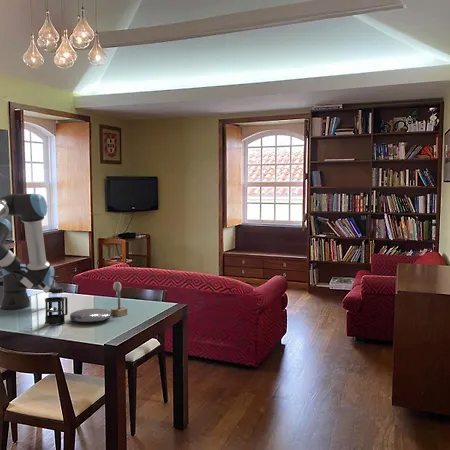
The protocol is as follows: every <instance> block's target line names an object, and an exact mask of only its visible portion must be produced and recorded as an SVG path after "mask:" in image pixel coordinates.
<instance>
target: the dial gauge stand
mask: <svg viewBox="0 0 450 450" xmlns="http://www.w3.org/2000/svg"><path fill="white" fill-rule="evenodd" d="M112 287H113V291H115V292H117V307H113V308H111V309H110V311H111V316H115V317H122V316H125V315H128V308H127V307H122V306H121V291H122V284H121V282H120V281H114V283H113V285H112Z"/></svg>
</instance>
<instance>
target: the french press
mask: <svg viewBox="0 0 450 450" xmlns="http://www.w3.org/2000/svg"><path fill="white" fill-rule="evenodd" d="M50 277H53V278H54V279H53V286H52V287H51V286H50V287H49V288H50V289H49V291H48V292H47V293H46V294H48V293H51V294H53V295H54V296H53V297H51V296H50V297H46V298H44V301H45V316H44V319H45V320H44V324H45V325H50V326H51V325H52V326H53V325H60V324H64V323H65V322H66V320H65V319H66V317H65V316H68V313H69V312H68V311H69V310H68V297H67V296H64V297H63V296H56V294H57V295H58V294H63V293H64V289H65V287H60V286H56V278H59V277H60V275H54V276H50ZM53 303H54V307H53ZM56 303H57V307H56ZM53 313H57V314H53Z"/></svg>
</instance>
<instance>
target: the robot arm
mask: <svg viewBox="0 0 450 450" xmlns="http://www.w3.org/2000/svg"><path fill="white" fill-rule="evenodd" d="M47 213H48V204H47V201H46V198H45V197H44V195H42V194H40V193H38V194H37V193H9V194H6V195H3V196H1V197H0V267H1V268H3V270H2V271H3V272H2V280H3V281H2V284H3V285H2V286H3V288H2V289H3V295H2V298H1V301H0V309H1V310H6V311H7V310H9V311H11V310H21V309H26V308H28V307H30V306H31V300H30V298H29V295H28V292H27V289H29V290H31V289H41V290H42V291H43V292H44V293H45V294H48V293H49V292H48V291H49V289H50V287H51V286H52V284H53V283H54V278H53V277H50V276H55V268H54V267H53V266H51V265H50V262H49V261H48V260H47V257H46V248H45V246H46V245H45V241H44V230H43V224H42V221H43V220H44V219H45V216H47ZM12 216H13V217H20V221H21V222H22V223H24V230H25V238H26V245H27V246H26V247H27V253H28V261H29V263H28V264H27V265H26V263H22V260H21V259H20V258H19V257H18V256H17V255H15V254H14V252H13V251H12V250H11V249H9V248H8V247H7V246H6V244H5V243H6V241H7V239H8V236H9V234H10V233H11V230H12V223H11V222H10V220H8V219H7V218H6V217H12ZM47 292H48V293H47Z"/></svg>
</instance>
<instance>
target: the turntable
mask: <svg viewBox="0 0 450 450" xmlns="http://www.w3.org/2000/svg"><path fill="white" fill-rule="evenodd" d="M111 317H112V315H111V310H109V309H106V308H84V309H80V310H76V311H75V310H74V311H73V312H71V313H70V314H69V319H70V320H71V321H74V322H78V323H86V322H92V323H97V322H101V321H106V320H108V319H110V318H111Z"/></svg>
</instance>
